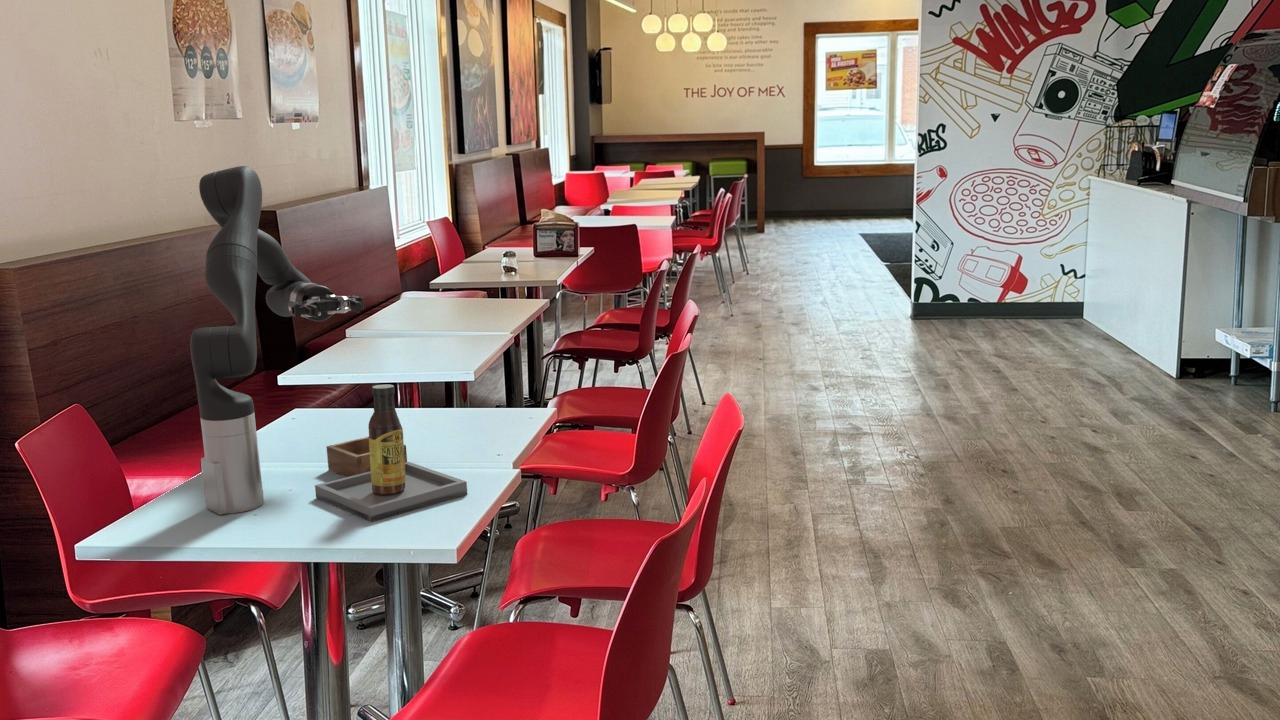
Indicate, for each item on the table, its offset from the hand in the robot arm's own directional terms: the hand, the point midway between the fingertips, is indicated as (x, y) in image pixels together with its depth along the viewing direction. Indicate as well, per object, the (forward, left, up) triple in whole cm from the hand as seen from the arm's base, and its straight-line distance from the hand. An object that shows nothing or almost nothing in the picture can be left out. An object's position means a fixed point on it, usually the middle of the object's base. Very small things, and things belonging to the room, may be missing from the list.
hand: (337, 309), depth 226 cm
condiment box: (0, -6, -32) cm, 33 cm away
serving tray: (-6, -25, -32) cm, 41 cm away
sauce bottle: (-6, -25, -31) cm, 40 cm away
